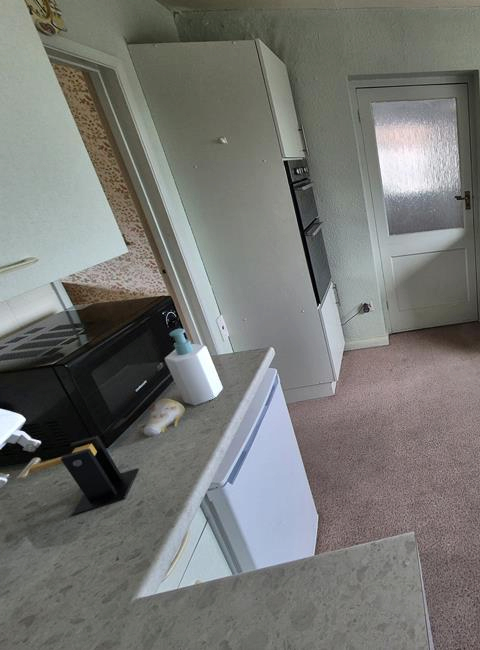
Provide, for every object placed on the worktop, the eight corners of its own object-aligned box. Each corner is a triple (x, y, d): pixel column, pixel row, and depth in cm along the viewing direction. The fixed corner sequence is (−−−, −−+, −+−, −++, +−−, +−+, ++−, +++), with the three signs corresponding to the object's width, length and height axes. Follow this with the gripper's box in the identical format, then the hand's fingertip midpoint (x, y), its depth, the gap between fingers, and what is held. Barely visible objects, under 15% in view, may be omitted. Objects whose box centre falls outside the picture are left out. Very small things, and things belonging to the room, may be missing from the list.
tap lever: (19, 485, 74) (12, 476, 73) (35, 465, 79) (28, 457, 78) (89, 464, 77) (83, 455, 76) (100, 446, 82) (95, 438, 81)
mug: (137, 443, 99) (132, 404, 100) (174, 432, 108) (169, 397, 109) (157, 439, 97) (152, 400, 98) (194, 429, 106) (189, 393, 107)
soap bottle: (221, 382, 122) (197, 320, 113) (224, 395, 115) (198, 331, 106) (184, 395, 117) (155, 331, 108) (184, 410, 110) (153, 343, 101)
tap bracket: (75, 519, 78) (39, 470, 73) (94, 487, 86) (63, 440, 80) (127, 502, 81) (97, 454, 76) (141, 472, 89) (114, 426, 83)
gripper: (-127, 470, 58) (-7, 493, 65) (-26, 394, 75) (60, 419, 82) (-146, 500, 58) (-25, 520, 65) (-42, 419, 76) (45, 441, 83)
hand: (23, 463), depth 74 cm, fingers open, 8 cm apart
